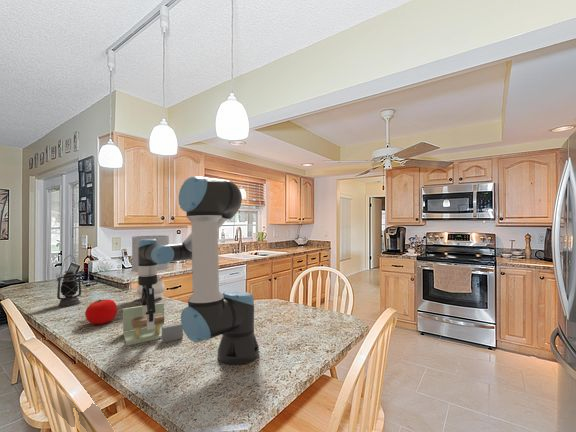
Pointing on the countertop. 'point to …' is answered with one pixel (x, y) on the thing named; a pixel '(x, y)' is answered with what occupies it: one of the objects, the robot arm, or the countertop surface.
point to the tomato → (101, 311)
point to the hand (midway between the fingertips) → (147, 324)
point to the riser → (172, 332)
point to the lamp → (159, 286)
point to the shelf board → (143, 320)
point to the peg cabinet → (139, 333)
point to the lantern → (69, 288)
